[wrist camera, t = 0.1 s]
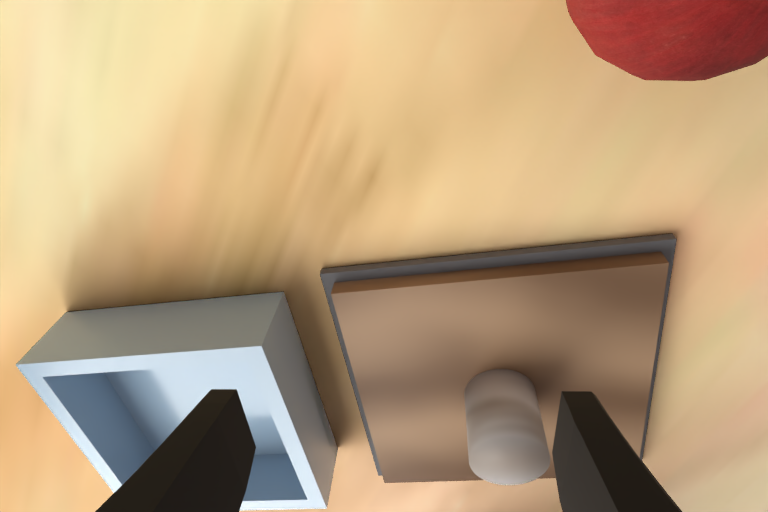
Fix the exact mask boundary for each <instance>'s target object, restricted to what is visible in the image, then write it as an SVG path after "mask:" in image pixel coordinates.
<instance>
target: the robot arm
mask: <svg viewBox="0 0 768 512" xmlns="http://www.w3.org/2000/svg"><path fill="white" fill-rule="evenodd" d="M255 449H256V445H255V442H254V439H253V436H252V433H251V430H250V427H249V424H248V421H247V418H246V415H245V413H244V410H243V407H242V404H241V401H240V398H239V395H238V392H237V389H211V390H210V391H209V392H208V393H207V394H206V395H205V396H204V398H203V399H202V400H201V401H200V402H199V403H198V404H197V405H196V406H195V407H194V408H193V410H192V411H191V412H190V413H189V414H188V415H187V416H186V417H185V418H184V420H183V421H182V422H181V423H180V424H179V425H178V426H177V427H176V428H175V430H174V431H173V432H172V433H171V434H170V435H169V436H168V437H167V438H166V439H165V441H164V442H163V443H162V444H161V445H160V446H159V447H158V448H157V449H156V450H155V451H154V452H153V453H152V455H151V456H150V457H149V458H148V459H147V460H146V461H145V462H144V463H143V464H142V465H141V466H140V467H139V468H138V469H137V471H136V472H135V473H134V474H133V475H132V476H131V477H130V478H129V479H128V480H127V481H126V482H125V483H124V484H123V485H122V486H121V487H120V488H119V489H118V490H117V491H116V492H115V493H114V494H113V495H112V496H111V497H110V498H109V499H108V500H107V501H106V502H105V503H104V504H103V505H102V506H101V507H99V508H98V509H97V510H96V511H95V512H239V510H240V507H241V504H242V501H243V498H244V495H245V492H246V489H247V485H248V480H249V476H250V472H251V468H252V463H253V459H254V454H255ZM552 455H553V462H554V468H555V474H556V480H557V486H558V492H559V498H560V503H561V506H562V510H563V512H682V511H681V510H680V508H679V507H678V506H677V505H676V503H675V502H674V501H673V500H672V499H671V497H670V496H669V495H668V494H667V492H666V491H665V490H664V489H663V487H662V486H661V485H660V484H659V482H658V481H657V480H656V478H655V477H654V476H653V475H652V473H651V472H650V471H649V470H648V468H647V467H646V466H645V464H644V463H643V462H642V461H641V459H640V458H639V457H638V455H637V454H636V453H635V451H634V450H633V448H632V447H631V446H630V444H629V443H628V442H627V440H626V439H625V437H624V436H623V435H622V433H621V432H620V430H619V429H618V428H617V426H616V425H615V423H614V422H613V420H612V419H611V418H610V416H609V415H608V413H607V412H606V410H605V409H604V407H603V406H602V404H601V403H600V401H599V400H598V398H597V396H596V395H595V394H594V393H593V392H591V391H561V398H560V404H559V411H558V417H557V424H556V430H555V437H554V443H553V450H552Z"/></svg>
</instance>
